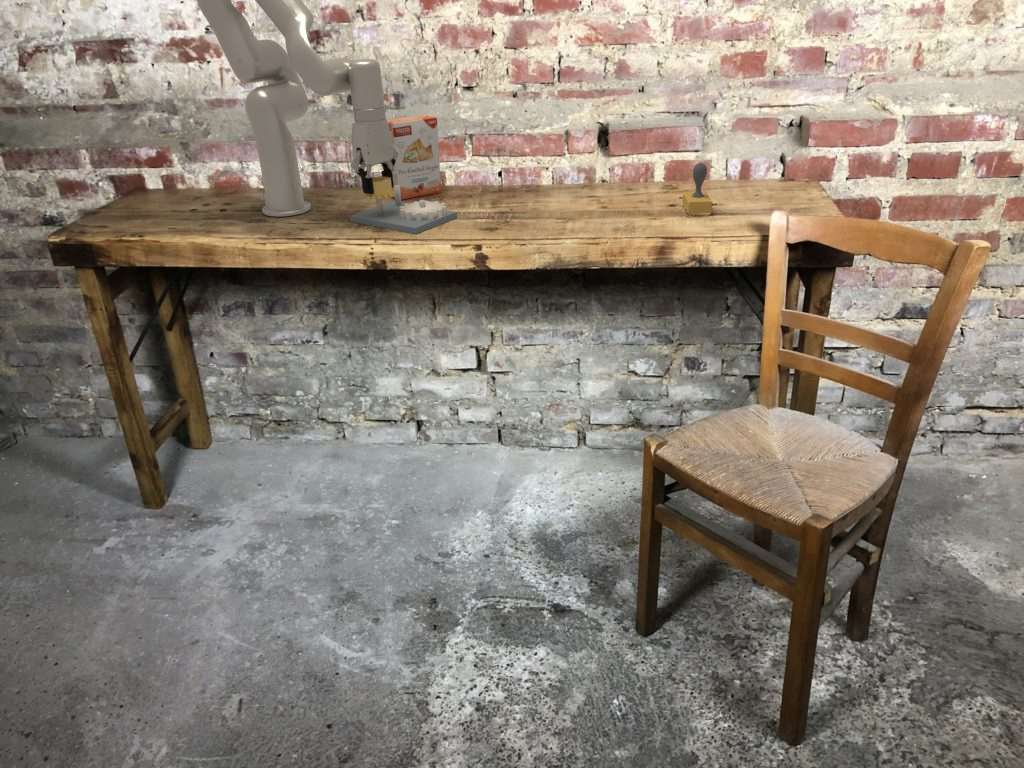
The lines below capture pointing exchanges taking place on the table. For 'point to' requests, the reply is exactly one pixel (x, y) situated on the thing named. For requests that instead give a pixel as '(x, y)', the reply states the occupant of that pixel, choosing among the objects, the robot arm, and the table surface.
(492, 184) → the table surface
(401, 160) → the cracker box
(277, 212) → the robot arm
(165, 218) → the table surface
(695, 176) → the rubber stamp
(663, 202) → the table surface
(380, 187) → the gear
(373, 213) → the gear board
